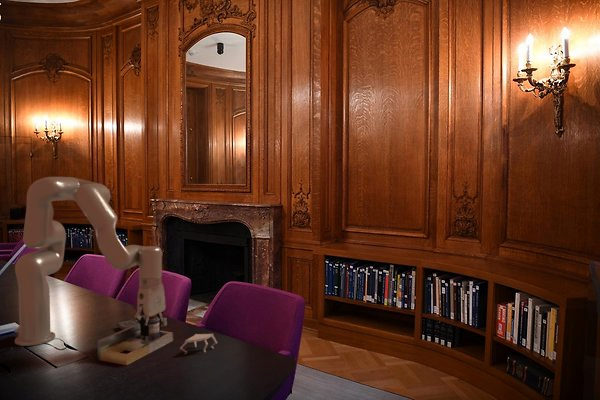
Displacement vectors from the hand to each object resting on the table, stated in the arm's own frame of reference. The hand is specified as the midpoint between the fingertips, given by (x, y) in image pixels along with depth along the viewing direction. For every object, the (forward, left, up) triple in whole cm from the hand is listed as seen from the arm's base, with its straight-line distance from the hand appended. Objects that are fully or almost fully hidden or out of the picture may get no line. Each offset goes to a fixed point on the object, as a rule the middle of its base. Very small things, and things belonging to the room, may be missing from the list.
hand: (151, 332), depth 162 cm
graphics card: (-17, +15, -5) cm, 23 cm away
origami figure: (+19, 0, -4) cm, 19 cm away
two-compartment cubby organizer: (0, -6, -4) cm, 8 cm away
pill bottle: (0, 0, -4) cm, 4 cm away
